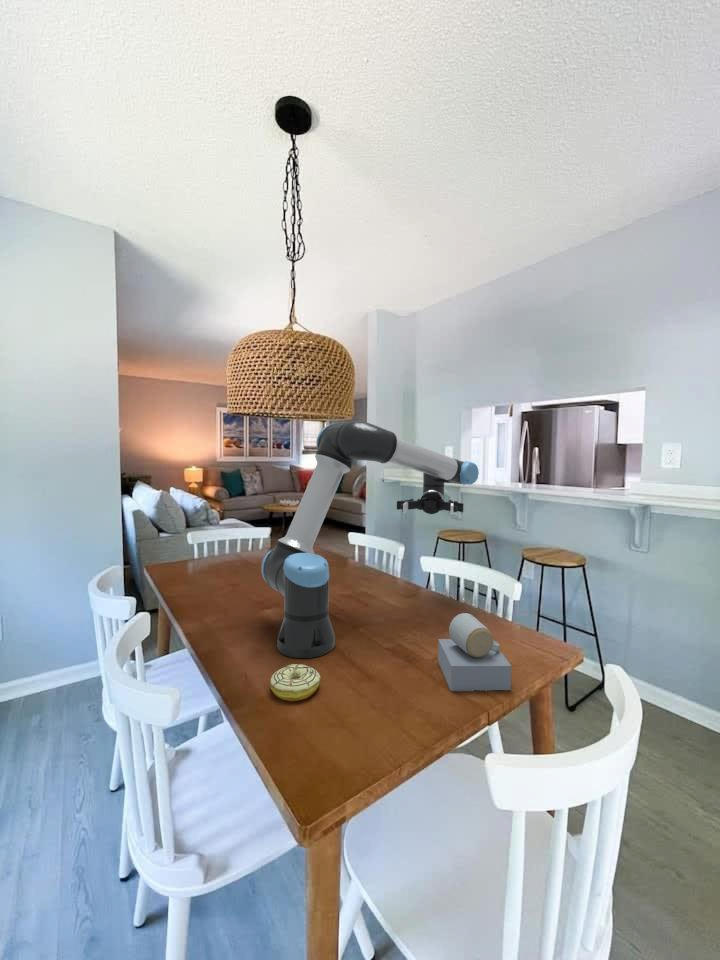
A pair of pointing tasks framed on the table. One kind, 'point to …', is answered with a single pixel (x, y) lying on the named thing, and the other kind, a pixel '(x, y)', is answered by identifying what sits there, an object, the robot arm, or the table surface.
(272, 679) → the decorated donut
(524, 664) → the table surface
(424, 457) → the robot arm
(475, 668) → the riser block
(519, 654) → the table surface
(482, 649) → the ceramic mug
